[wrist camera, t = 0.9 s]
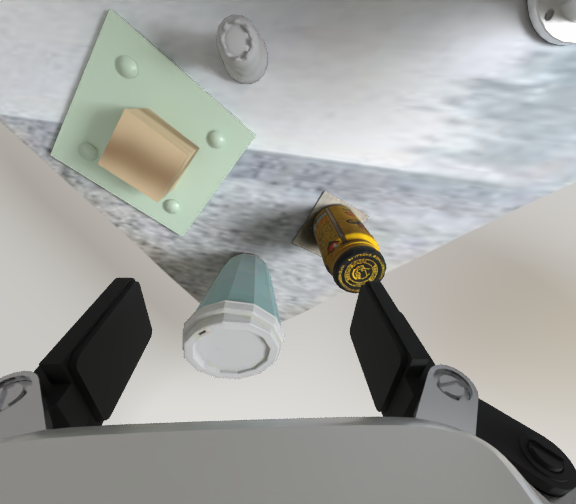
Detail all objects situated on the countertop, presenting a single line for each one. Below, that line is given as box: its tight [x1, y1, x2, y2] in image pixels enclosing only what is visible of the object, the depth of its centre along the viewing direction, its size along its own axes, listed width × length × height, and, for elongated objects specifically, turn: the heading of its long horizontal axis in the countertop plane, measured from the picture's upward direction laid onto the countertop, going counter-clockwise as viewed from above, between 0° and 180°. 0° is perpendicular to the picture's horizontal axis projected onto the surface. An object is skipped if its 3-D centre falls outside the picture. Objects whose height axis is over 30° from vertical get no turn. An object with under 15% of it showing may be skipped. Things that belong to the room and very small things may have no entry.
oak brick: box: [98, 108, 199, 203], centre depth 26 cm, size 6×6×5 cm
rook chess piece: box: [216, 15, 268, 84], centre depth 22 cm, size 4×4×8 cm
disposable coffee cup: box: [183, 253, 285, 379], centre depth 32 cm, size 11×11×15 cm
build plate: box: [50, 9, 256, 237], centre depth 29 cm, size 16×16×1 cm
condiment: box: [292, 191, 386, 293], centre depth 30 cm, size 7×8×12 cm
